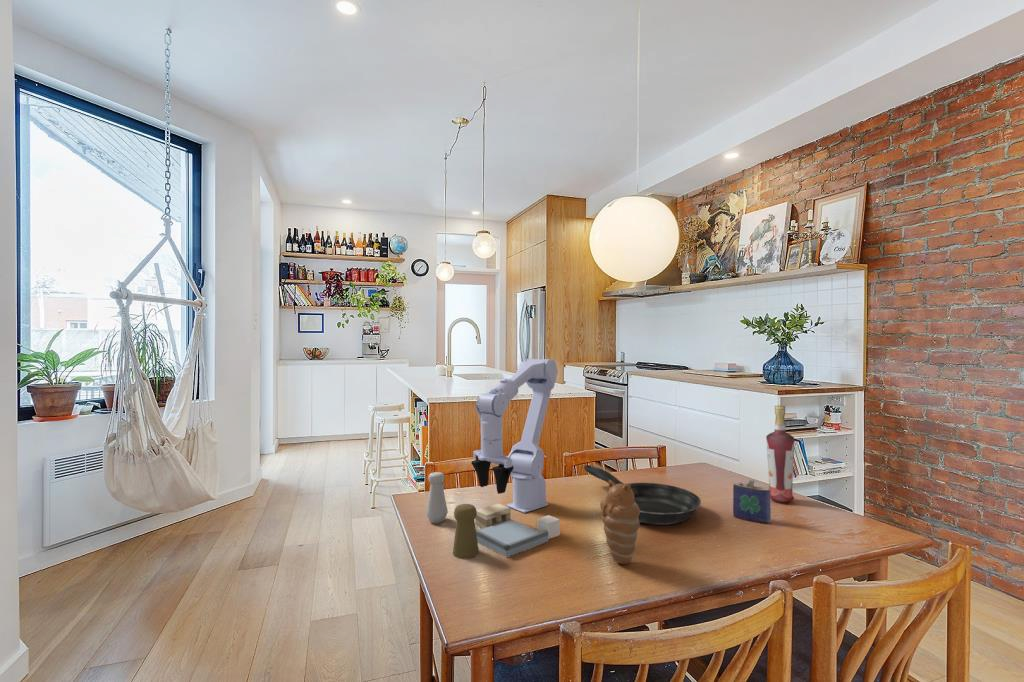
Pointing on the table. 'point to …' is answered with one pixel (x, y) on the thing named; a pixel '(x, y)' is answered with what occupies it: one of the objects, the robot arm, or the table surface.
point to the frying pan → (656, 499)
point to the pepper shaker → (465, 532)
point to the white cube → (549, 525)
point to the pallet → (492, 515)
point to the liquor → (780, 460)
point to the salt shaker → (436, 499)
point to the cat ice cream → (620, 521)
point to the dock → (510, 537)
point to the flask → (751, 502)
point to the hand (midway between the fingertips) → (492, 489)
